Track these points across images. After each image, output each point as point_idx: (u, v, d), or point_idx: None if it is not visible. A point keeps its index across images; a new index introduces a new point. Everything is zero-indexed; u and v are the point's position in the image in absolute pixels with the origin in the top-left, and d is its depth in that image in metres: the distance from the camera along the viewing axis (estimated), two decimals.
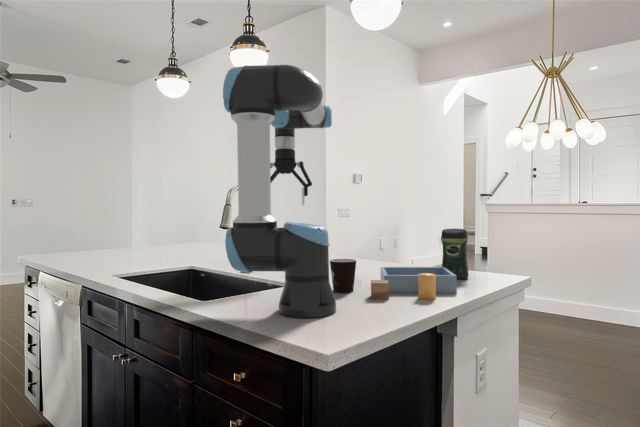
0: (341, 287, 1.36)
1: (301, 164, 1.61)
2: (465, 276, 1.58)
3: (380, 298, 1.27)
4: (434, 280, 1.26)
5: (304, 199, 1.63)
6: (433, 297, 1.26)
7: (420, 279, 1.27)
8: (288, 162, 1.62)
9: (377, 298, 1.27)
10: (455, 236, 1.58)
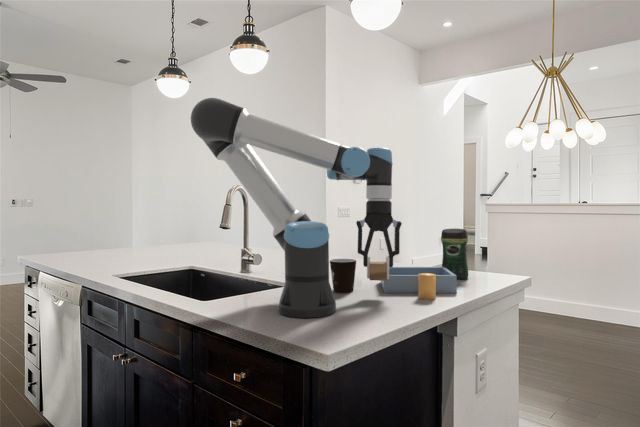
0: (341, 287, 1.36)
1: (398, 225, 1.27)
2: (465, 276, 1.58)
3: (378, 279, 1.27)
4: (434, 280, 1.26)
5: None
6: (433, 297, 1.26)
7: (420, 279, 1.27)
8: (385, 215, 1.28)
9: (375, 279, 1.27)
10: (455, 236, 1.58)
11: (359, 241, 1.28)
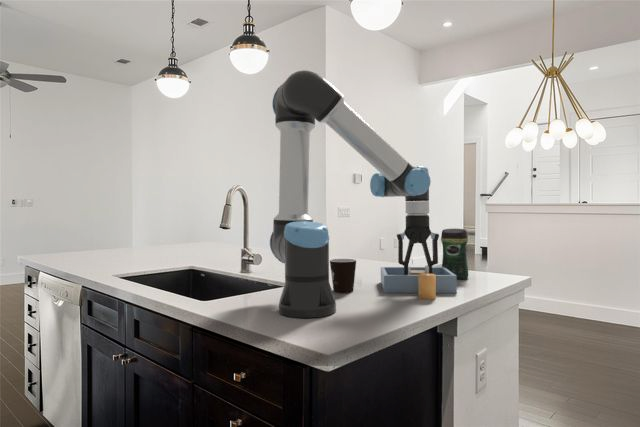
0: (341, 287, 1.36)
1: (436, 237, 1.38)
2: (465, 276, 1.58)
3: None
4: (434, 280, 1.26)
5: None
6: (433, 297, 1.26)
7: (420, 279, 1.27)
8: (423, 228, 1.39)
9: None
10: (455, 236, 1.58)
11: (400, 253, 1.39)
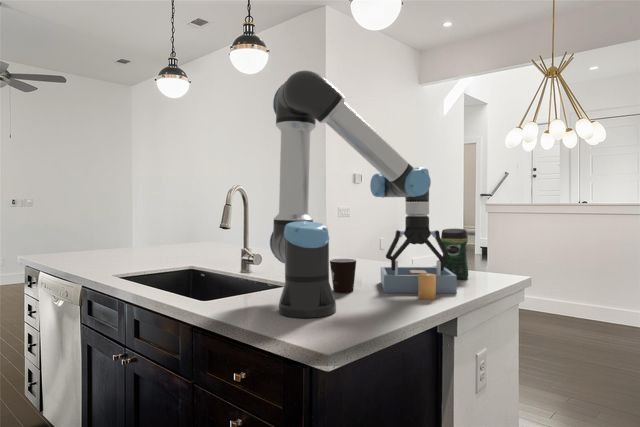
0: (341, 288, 1.36)
1: (437, 234, 1.38)
2: (465, 276, 1.58)
3: None
4: (434, 280, 1.26)
5: None
6: (433, 297, 1.26)
7: (420, 279, 1.27)
8: (422, 231, 1.39)
9: None
10: (455, 236, 1.58)
11: (391, 248, 1.39)
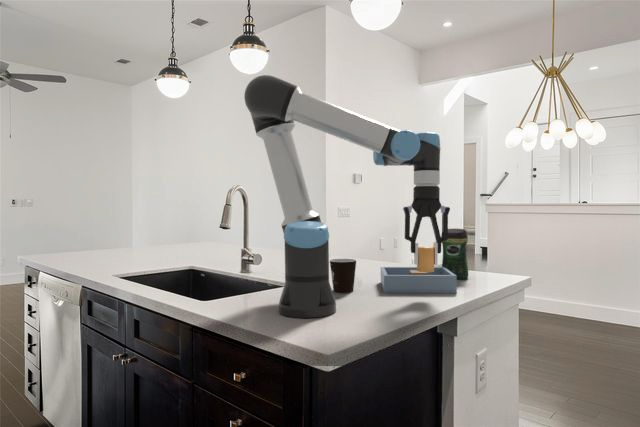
0: (341, 287, 1.36)
1: (447, 211, 1.26)
2: (465, 276, 1.58)
3: None
4: (433, 253, 1.26)
5: None
6: (431, 270, 1.26)
7: (419, 252, 1.27)
8: (433, 201, 1.26)
9: None
10: (455, 236, 1.58)
11: (407, 227, 1.27)
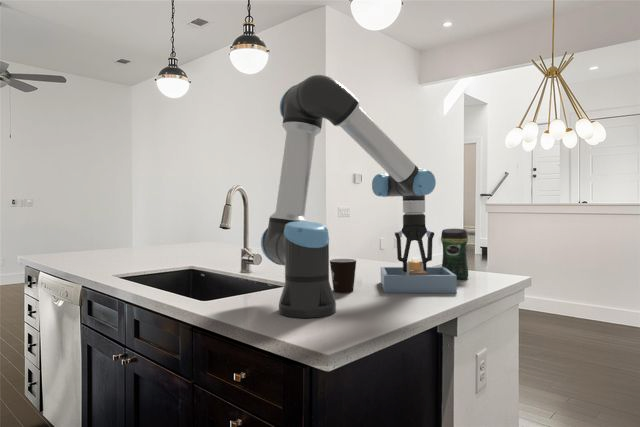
0: (341, 287, 1.36)
1: (432, 235, 1.46)
2: (465, 276, 1.58)
3: None
4: (421, 266, 1.46)
5: None
6: None
7: (409, 266, 1.47)
8: (420, 226, 1.47)
9: None
10: (455, 236, 1.58)
11: (399, 250, 1.47)
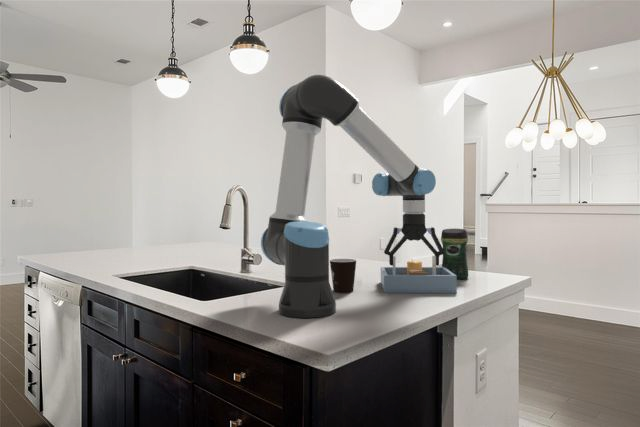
0: (341, 287, 1.36)
1: (433, 231, 1.46)
2: (465, 276, 1.58)
3: None
4: (420, 266, 1.46)
5: None
6: None
7: (408, 266, 1.47)
8: (418, 228, 1.47)
9: None
10: (455, 236, 1.58)
11: (389, 244, 1.47)
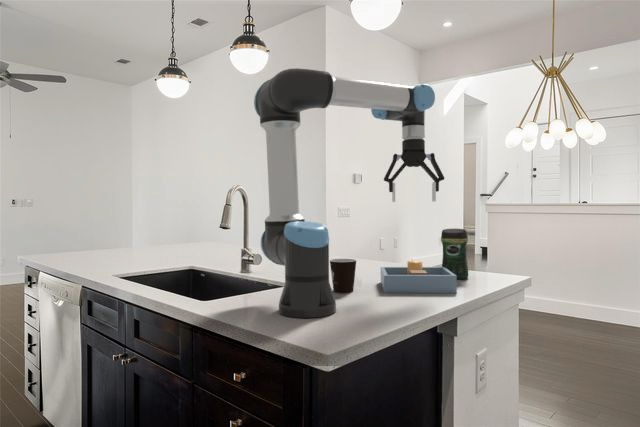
0: (341, 287, 1.36)
1: (433, 156, 1.46)
2: (465, 276, 1.58)
3: None
4: (421, 266, 1.46)
5: None
6: None
7: (408, 266, 1.47)
8: (418, 154, 1.46)
9: None
10: (455, 236, 1.58)
11: (389, 170, 1.47)
